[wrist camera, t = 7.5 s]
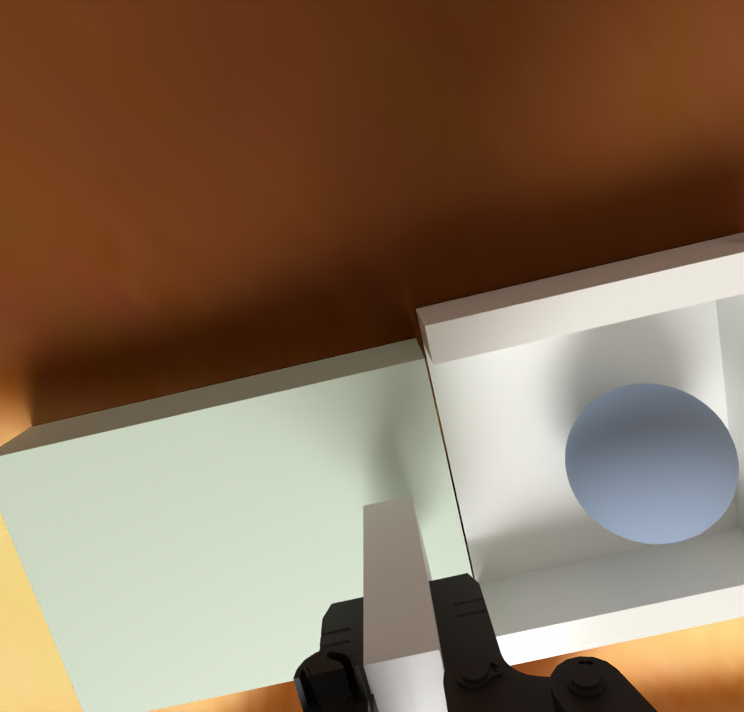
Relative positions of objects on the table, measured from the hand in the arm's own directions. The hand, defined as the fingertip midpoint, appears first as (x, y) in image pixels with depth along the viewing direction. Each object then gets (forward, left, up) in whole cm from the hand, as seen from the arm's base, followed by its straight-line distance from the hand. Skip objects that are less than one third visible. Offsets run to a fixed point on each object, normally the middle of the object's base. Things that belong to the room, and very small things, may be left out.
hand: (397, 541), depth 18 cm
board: (0, -5, -4) cm, 7 cm away
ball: (0, +8, -2) cm, 8 cm away
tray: (0, +8, -4) cm, 9 cm away
